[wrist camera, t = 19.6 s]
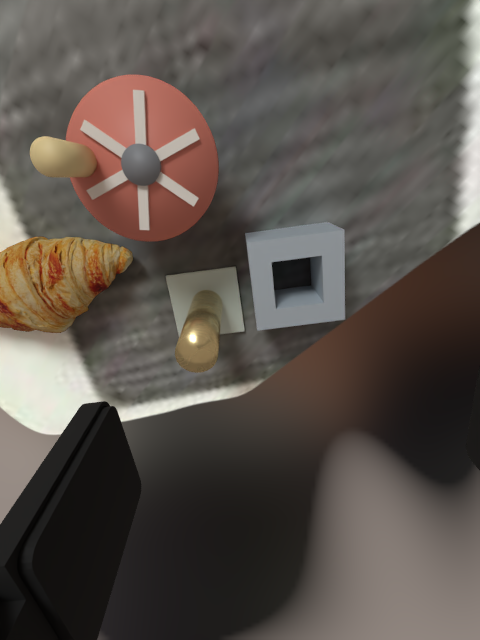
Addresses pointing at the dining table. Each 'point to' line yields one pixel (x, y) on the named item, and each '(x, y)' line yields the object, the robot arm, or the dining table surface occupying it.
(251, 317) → the dining table surface
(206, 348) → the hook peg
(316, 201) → the dining table surface
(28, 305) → the croissant
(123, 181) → the handwheel
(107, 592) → the robot arm
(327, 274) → the eye block
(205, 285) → the sage mat
